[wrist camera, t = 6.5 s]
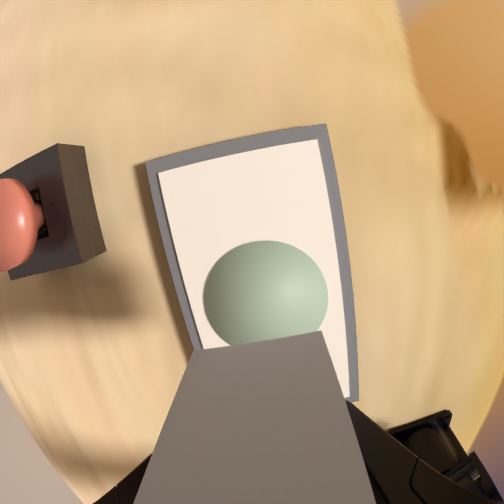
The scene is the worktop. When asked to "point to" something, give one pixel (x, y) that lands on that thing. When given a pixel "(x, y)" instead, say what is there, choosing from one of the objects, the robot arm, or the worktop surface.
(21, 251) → the button
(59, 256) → the button housing
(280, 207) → the drawing board
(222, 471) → the grey rectangular block
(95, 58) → the worktop surface
